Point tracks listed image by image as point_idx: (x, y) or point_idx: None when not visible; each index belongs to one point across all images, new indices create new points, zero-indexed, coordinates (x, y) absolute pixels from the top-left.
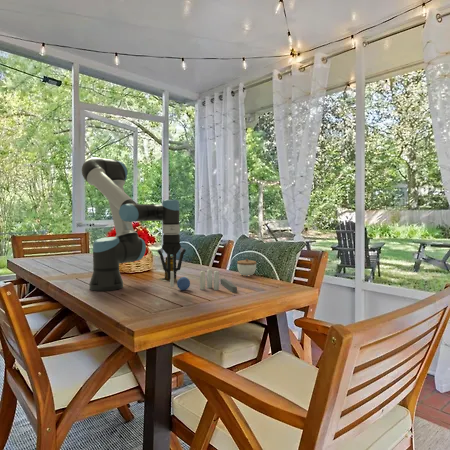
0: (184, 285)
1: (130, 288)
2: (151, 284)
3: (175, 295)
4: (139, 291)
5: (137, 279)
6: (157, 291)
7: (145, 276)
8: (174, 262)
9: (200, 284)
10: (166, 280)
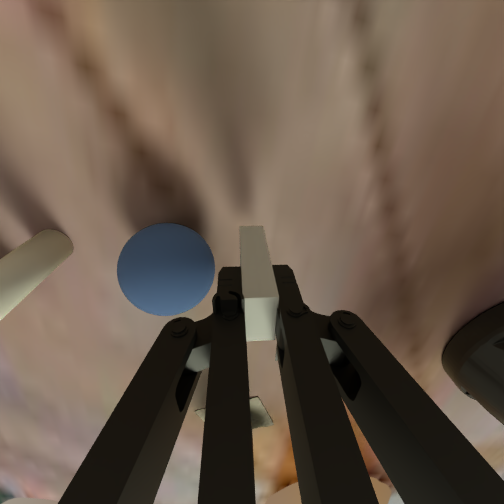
0: (161, 226)
1: (430, 318)
2: None
3: (240, 103)
4: (419, 259)
5: None
6: (330, 242)
7: None
8: (234, 417)
9: (46, 255)
10: None
